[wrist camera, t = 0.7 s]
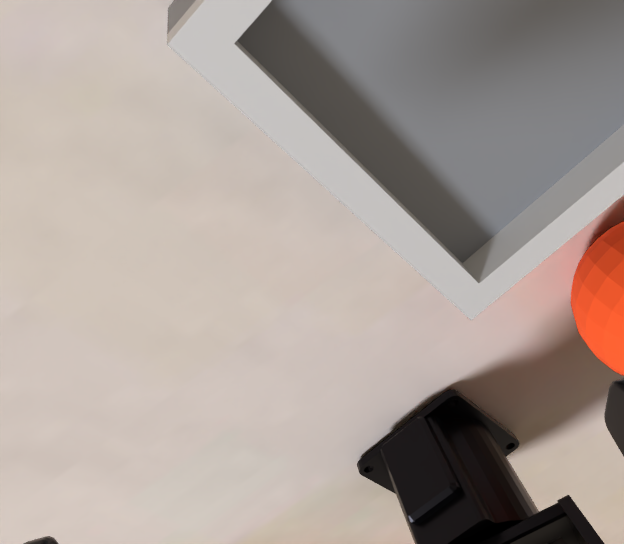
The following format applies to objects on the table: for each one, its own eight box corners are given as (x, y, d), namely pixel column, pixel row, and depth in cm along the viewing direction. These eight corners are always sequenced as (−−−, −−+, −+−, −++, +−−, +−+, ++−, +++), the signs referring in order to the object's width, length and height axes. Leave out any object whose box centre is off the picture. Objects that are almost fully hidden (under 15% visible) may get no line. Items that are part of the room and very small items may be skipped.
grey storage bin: (678, 3, 19) (821, 31, 15) (413, 241, 22) (471, 320, 18) (498, -393, 13) (654, -535, 9) (167, 7, 16) (166, 45, 12)
